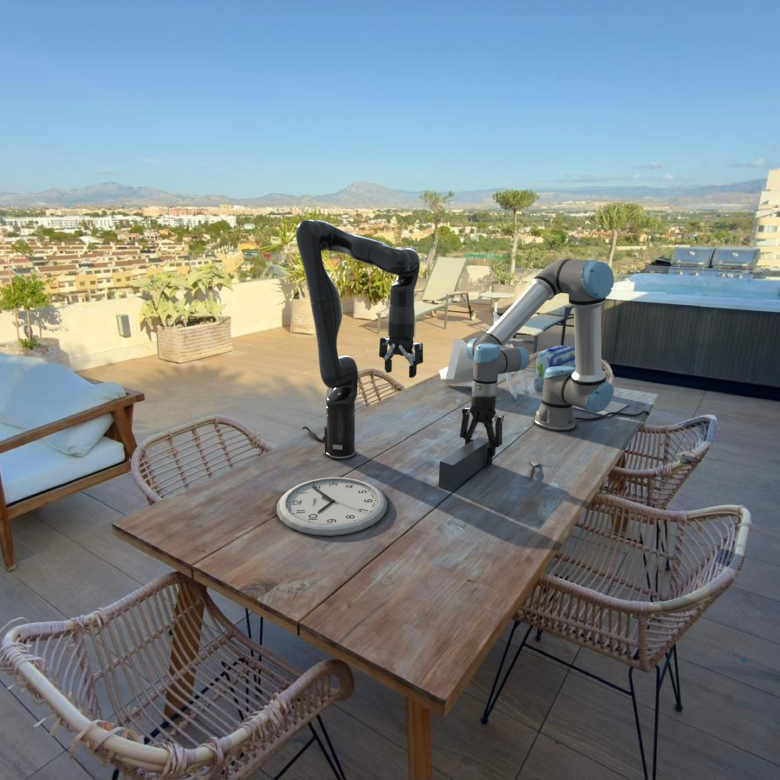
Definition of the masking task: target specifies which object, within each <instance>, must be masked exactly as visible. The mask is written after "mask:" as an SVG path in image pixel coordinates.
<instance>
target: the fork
mask: <svg viewBox="0 0 780 780" xmlns="http://www.w3.org/2000/svg"><path fill="white" fill-rule="evenodd" d="M540 456H541V454H539V456H538V454H536V456H534V455H532V456H531V461H530V464H531V465H532V468H531V470H530V479H531V480H532V479H533V477H534V474H535V472H536V466H539V465H540V459H541V458H540Z"/></svg>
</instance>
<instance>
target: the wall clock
mask: <svg viewBox="0 0 780 780" xmlns="http://www.w3.org/2000/svg"><path fill="white" fill-rule="evenodd" d="M387 509H388V500H387V498H386V496H385V494H384V493H383V492H382V491H381V490H380V489H379V488H377V487H376V486H374V485H372V484H371V483H369V482H365V481H362V480H359V479H355V478H349V477H338V476H337V477H335V476H333V477H332V476H331V477H322V478H317V479H312V480H307V481H305V482H302V483H299V484H297V485H295V486H293V487H292V488H290V489H288V490H287V491H286V492H285V493H284V494H283V495H281V496H280V498H279V499H278V502H277V503H276V515H277V517H278V518H279V520H280V521H281V522H282V523H283V524H285V525H286V526H287V527H288V528H290V529H293V530H295V531H297V532H299V533H303V534H308V535H312V536H327V537H328V536H329V537H331V536H332V537H333V536H342V535H350V534H352V533H356V532H361V531H363V530H366V529H368V528H369V527H372V526H373V525H375V524H376V523H378V522H379V521H380V520H381V519H382V518H383V517H384V516H385V514H386V512H387Z"/></svg>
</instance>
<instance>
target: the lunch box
mask: <svg viewBox="0 0 780 780" xmlns="http://www.w3.org/2000/svg"><path fill="white" fill-rule="evenodd" d="M555 366H570V367H575V368H576V363H575V347H572V346H567V345H566V346H565V345H556V346H553V347H549V348H547V349H544V350H542V351H540V352H539V353H538V355H537V357H536V360H535V369H534V381H533V389H534V391H535V392H539V393H542V391H543V380H544V379H543V378H544V375H545V370H546V369H547V368H549V367H555Z"/></svg>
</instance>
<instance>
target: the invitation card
mask: <svg viewBox="0 0 780 780" xmlns="http://www.w3.org/2000/svg"><path fill="white" fill-rule="evenodd" d="M628 406H629V404H627V403H623V402H618V401H614V400H611V402H610V403H609V405H608V406H607V407H606V408H605V409H604V410H602V411H601V412H597V413H594V412H591V411H586V410H585V409H582V408H579V407H576V406H574V407H573V409H575V410H581V411H584V412H587V413H593V414H596V415H600V416H603V415H605V414H606V413H609V412H620V411H621V410H623V409H624V408H626V407H628ZM613 415H614V414H610V415H607V416H606V417H608V418H609V417H611V416H613Z"/></svg>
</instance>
